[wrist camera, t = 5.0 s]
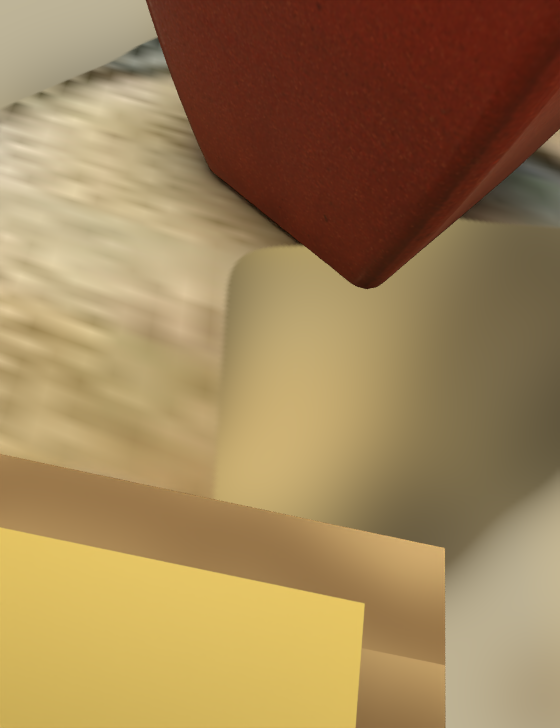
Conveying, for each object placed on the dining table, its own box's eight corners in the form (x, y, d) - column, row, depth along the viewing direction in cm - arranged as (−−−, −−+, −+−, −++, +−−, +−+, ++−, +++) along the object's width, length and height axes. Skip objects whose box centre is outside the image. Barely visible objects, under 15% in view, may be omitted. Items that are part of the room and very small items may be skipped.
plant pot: (554, 202, 32) (843, -170, 17) (380, 376, 23) (664, -70, 9) (333, 61, 37) (416, -317, 23) (124, 162, 28) (42, -342, 14)
